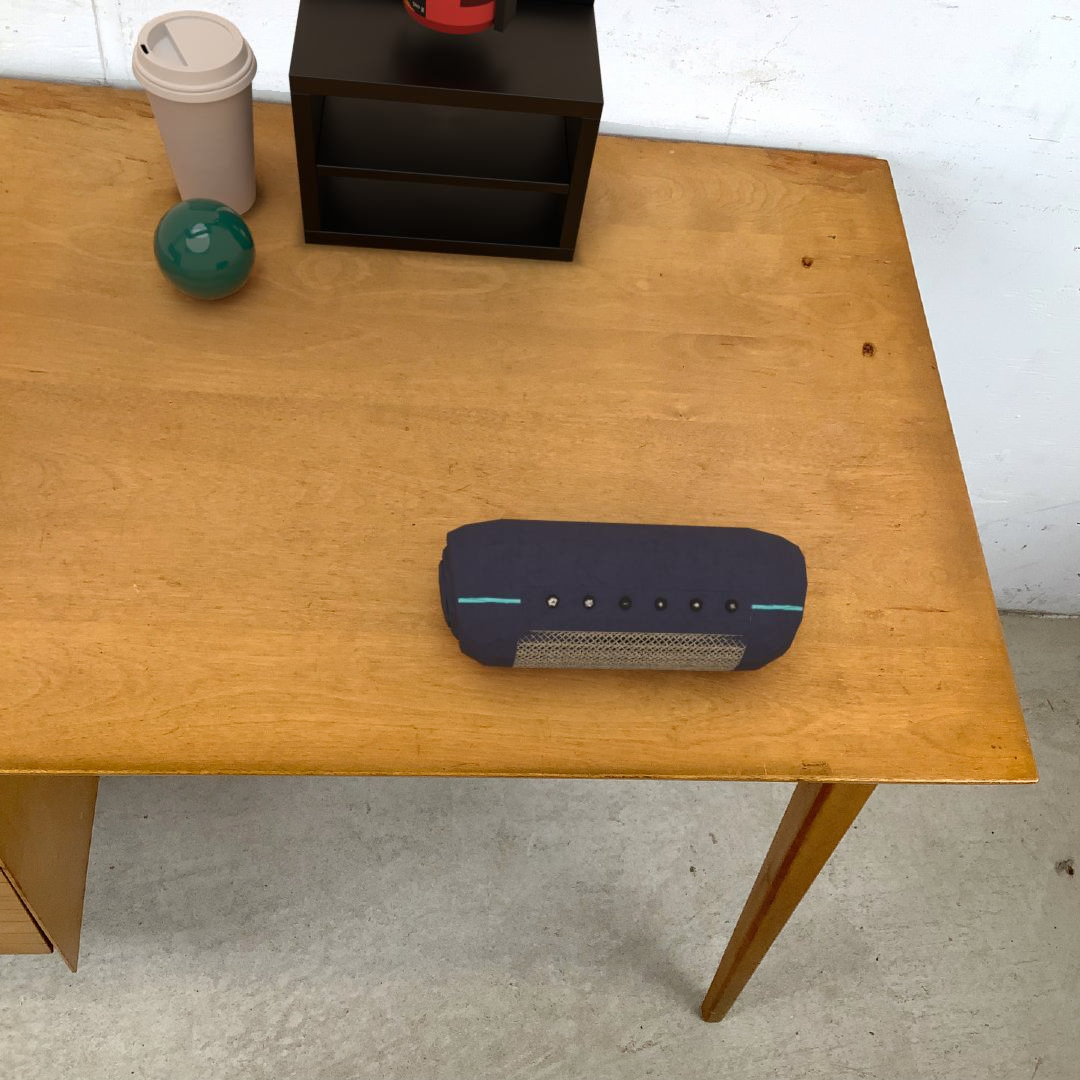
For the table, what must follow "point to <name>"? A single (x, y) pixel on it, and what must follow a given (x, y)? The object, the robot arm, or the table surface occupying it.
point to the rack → (445, 128)
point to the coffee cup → (201, 103)
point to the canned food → (453, 14)
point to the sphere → (204, 248)
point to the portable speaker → (621, 595)
